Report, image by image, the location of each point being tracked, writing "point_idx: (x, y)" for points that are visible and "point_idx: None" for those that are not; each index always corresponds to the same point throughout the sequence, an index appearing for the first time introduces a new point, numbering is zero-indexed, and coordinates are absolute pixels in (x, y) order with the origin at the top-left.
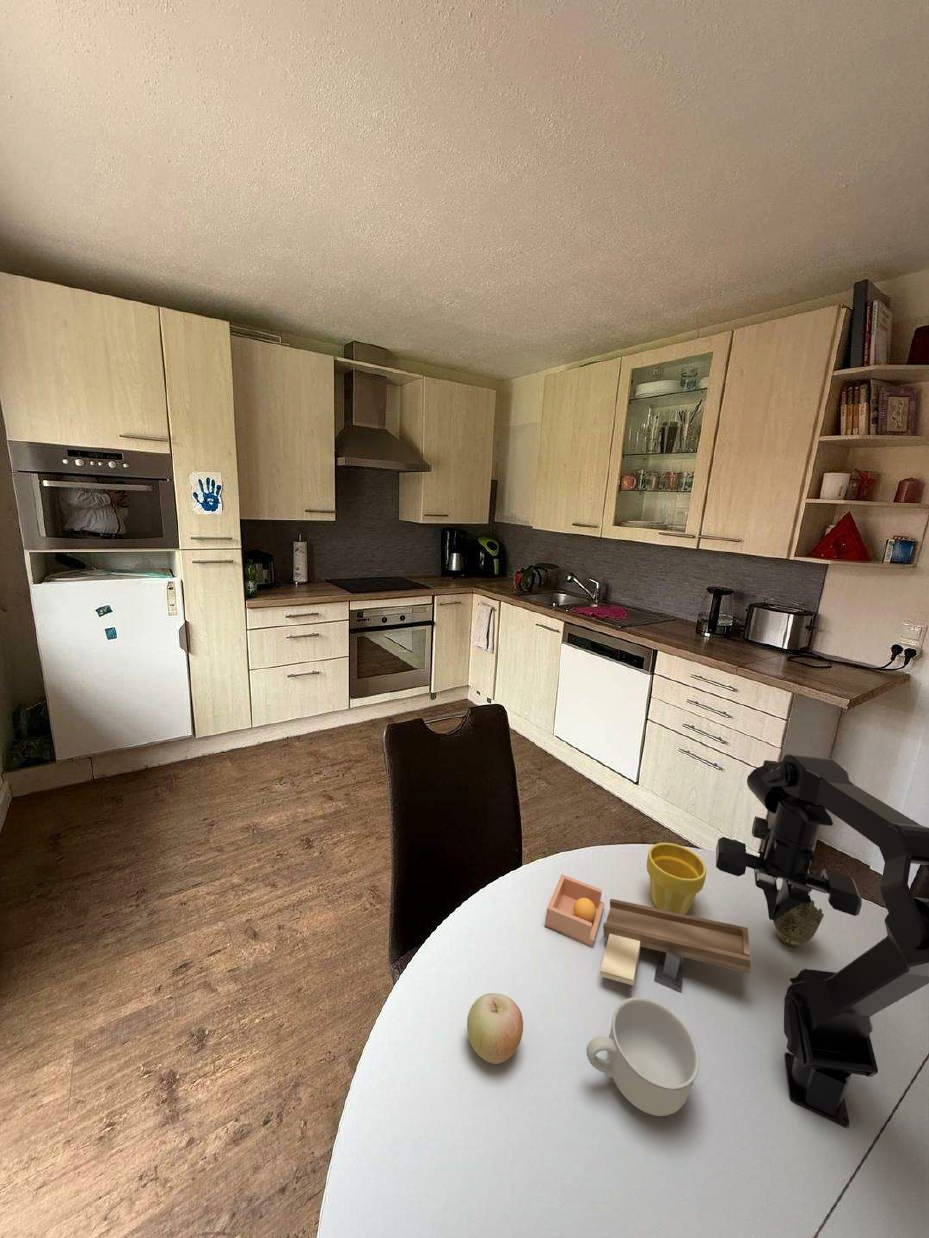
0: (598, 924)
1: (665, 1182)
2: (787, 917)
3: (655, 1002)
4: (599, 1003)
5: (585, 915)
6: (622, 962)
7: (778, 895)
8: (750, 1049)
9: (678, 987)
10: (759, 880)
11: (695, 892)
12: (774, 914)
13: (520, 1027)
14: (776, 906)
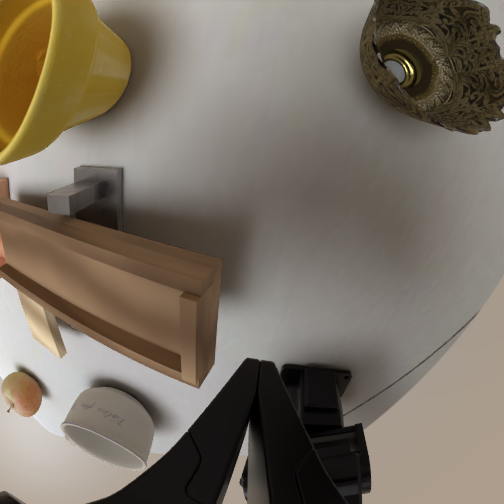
0: None
1: (156, 443)
2: (403, 101)
3: (85, 429)
4: None
5: None
6: (41, 330)
7: (263, 467)
8: (232, 366)
9: None
10: None
11: (66, 123)
12: (249, 424)
13: (30, 408)
14: (252, 447)
